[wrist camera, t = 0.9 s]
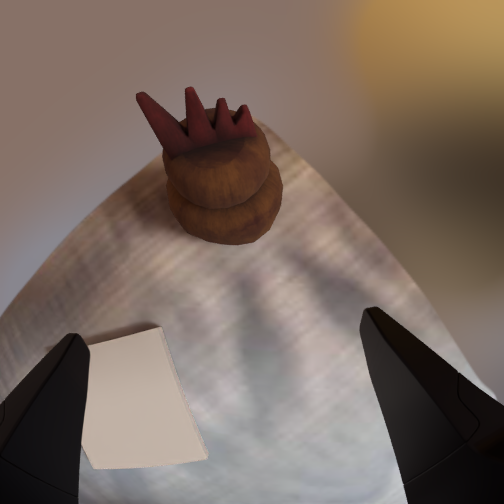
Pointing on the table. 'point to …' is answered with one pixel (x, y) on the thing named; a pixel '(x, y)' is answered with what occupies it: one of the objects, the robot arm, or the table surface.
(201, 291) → the table surface
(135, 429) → the display tile
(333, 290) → the table surface
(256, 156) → the wooden figurine
